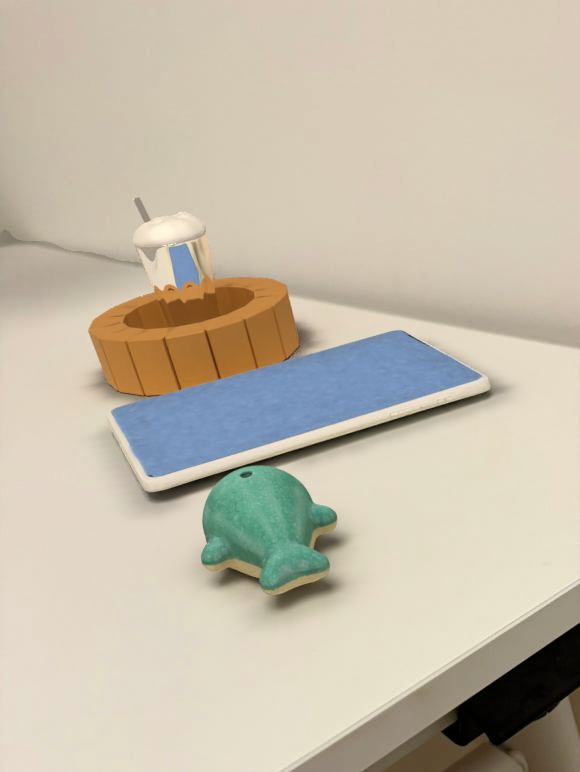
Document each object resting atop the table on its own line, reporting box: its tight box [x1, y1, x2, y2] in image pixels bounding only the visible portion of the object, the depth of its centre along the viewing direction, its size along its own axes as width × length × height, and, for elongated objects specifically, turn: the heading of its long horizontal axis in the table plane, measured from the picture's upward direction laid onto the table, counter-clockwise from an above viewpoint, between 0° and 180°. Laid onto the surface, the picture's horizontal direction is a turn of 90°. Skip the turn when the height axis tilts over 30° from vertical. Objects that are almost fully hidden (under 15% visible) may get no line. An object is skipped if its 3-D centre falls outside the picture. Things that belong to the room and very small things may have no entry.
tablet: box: [106, 329, 492, 493], centre depth 52 cm, size 19×13×1 cm, turn 118°
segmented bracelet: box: [87, 276, 301, 397], centre depth 62 cm, size 13×13×4 cm
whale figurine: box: [200, 465, 338, 596], centre depth 37 cm, size 6×7×4 cm
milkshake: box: [132, 197, 223, 328], centre depth 60 cm, size 4×5×10 cm
